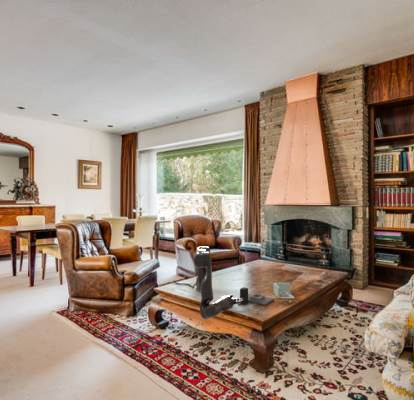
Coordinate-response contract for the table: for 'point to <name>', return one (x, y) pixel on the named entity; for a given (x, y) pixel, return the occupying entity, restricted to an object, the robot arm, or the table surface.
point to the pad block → (244, 294)
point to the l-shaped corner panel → (282, 290)
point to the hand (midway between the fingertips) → (238, 297)
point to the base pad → (259, 299)
